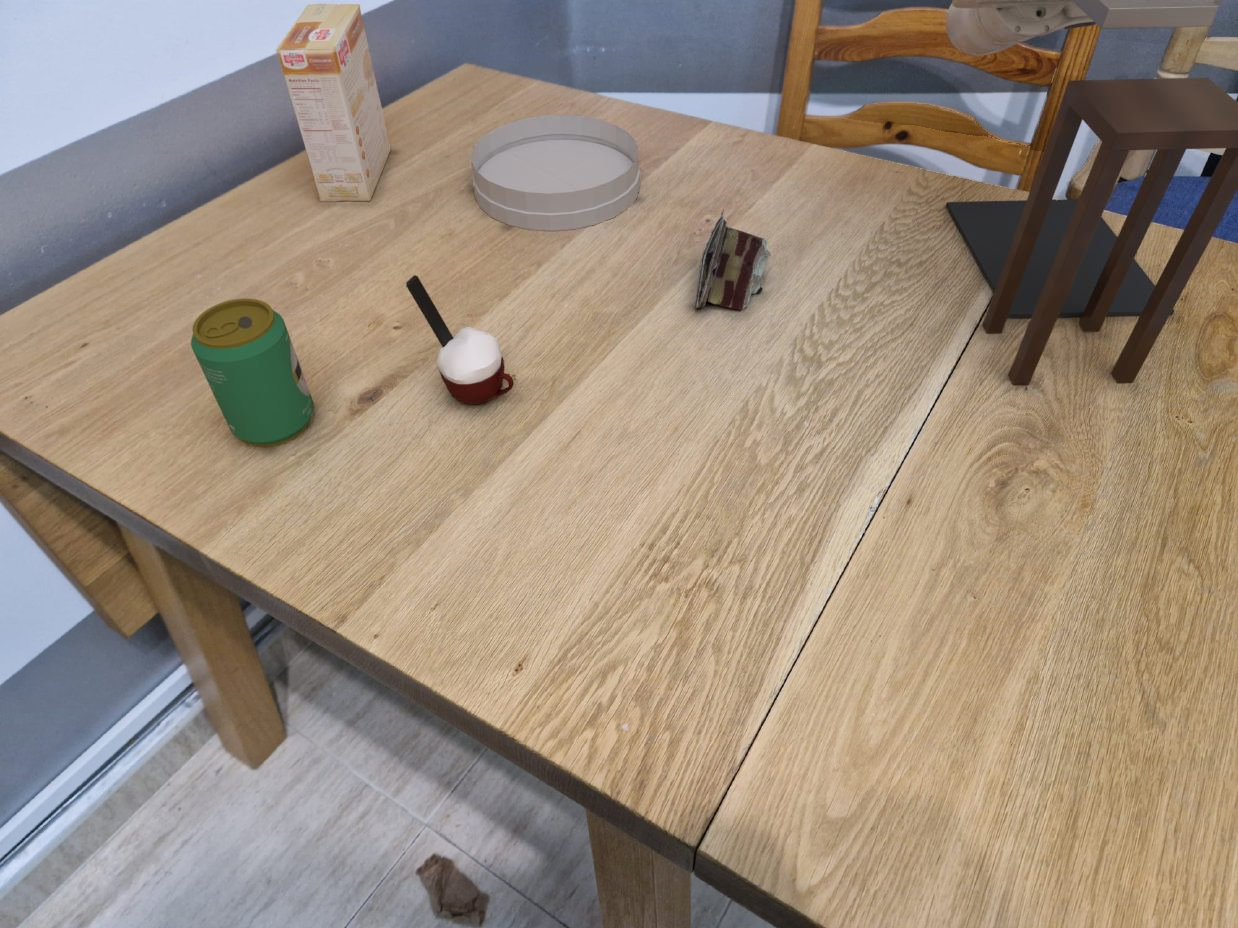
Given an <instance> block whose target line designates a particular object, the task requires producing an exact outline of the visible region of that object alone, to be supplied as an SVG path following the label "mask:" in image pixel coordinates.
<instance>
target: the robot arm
mask: <svg viewBox="0 0 1238 928" xmlns="http://www.w3.org/2000/svg"><path fill="white" fill-rule="evenodd" d="M951 1H952V2H951V3H950V5H949V8H948V10H947V12H946V17H945V31H946V35H947V37H948V40H949V41H950V43H951V44H952V46H953V48H955V49H956V50H957V51H959V52H960V53H962V54H964V55H967V56H971V57H982V56H989V55H992V54H996V53H999V52H1002V51H1005V50H1008V49H1009V48H1011V47H1013V46H1015V45H1017V44H1020V43H1025V42H1026V41H1029V40H1031V39H1034V38H1036V37H1044V36H1046V35H1049V34H1052V33H1054V32H1058V31H1061V30H1071V29H1075V28H1083V27H1092V26H1098V25H1097V24H1096V23H1095V22H1094V21H1093V20H1092V19H1091V18H1090V17H1089V16H1088V15H1086V14H1085V13H1084V12H1083V11H1082V10H1081V9H1080V8H1079V7H1078V6H1077V5H1076V4H1075V3H1073V2H1072V1H1071V0H951Z"/></svg>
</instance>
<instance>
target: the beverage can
mask: <svg viewBox="0 0 1238 928" xmlns="http://www.w3.org/2000/svg"><path fill="white" fill-rule="evenodd" d="M286 325H287V324H286V322H285V320H284V318H283V316H282V315H281V314H280V313H278V312H277V311H275V310H274V309H273V308H272V307H271V306H270V304H268V303H267V302H265V301H263V300H260V299H257V298H236V299H235V298H234V299H230V300H225V301H222V302H220V303H217V304H215V305H213V306H211V307H209V308H207V309H206V310H203V312H202V313H201V314H199V315H198V316H197V317H196V319H195V321H194V322H193V325H192V336H191V341H190V346H191V349H192V351H193V354H194V356H195V358H196V360H197V361H198V364H199V366H200V369H201V371H202V373H203V375H204V377H205V379H206V382H207V383H208V386H209V387H210V390H211V392H212V394H213V397H214V399H215V401H216V402H217V405H218V407H219V409H220V411H221V413H222V415H223V417H224V420H225V422H226V424H227V426H228V428H229V430H230V432H231V433H232V434H233V435H234V436H235V437H237V438H238V439H240V440H241V441H243V443H245V444H247V445H250V446H254V447H260V448H268V447H275V446H276V447H277V446H280V445H283V444H286V443H288V442H290V441H293V440H295V439H296V438H297V437H299V436H300V435H302V434H303V433H304V432H305V431H306V430H307V429H308V427H309V426H310V424H311V422H312V419H313V413H314V409H315V403H314V399H313V397H312V393H311V391H310V390H309V386H308V383H307V381H306V378H305V375H304V372H303V370H302V366H301V364H300V362H299V359H298V356H297V353H296V350H295V347H294V344H293V342H292V339H291V337H290V334H289V331H288V328H287V326H286Z"/></svg>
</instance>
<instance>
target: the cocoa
mask: <svg viewBox="0 0 1238 928" xmlns="http://www.w3.org/2000/svg"><path fill="white" fill-rule="evenodd" d="M405 286H406V288H407V290H408V292H409V293H410V295H411V297H412V298H413V300H414V301H415V303H416V305H417V307H418V308H419V310H420V312H421V313H422V315H423V316H424V318H425V320H426V322H427V323H428V325H429V327H430V328H431V330H432V332H433V334H434V335H435V337H436V339H437V341H438V342H439V344H440V346H441V347H440V349H439V351H438V355H437V360H436V368H437V369H438V371H439V374H440V376H441V380H442V382H443V383H444V385H445V387H446V389H447V390H448V392H449V394H450V395H451V397H452V398H454V399H456V400H458V401H460V402H461V403H463V404H468V405H479V404H483V403H487V402H489V401H490V400H492V399H494V398H495V397H500V396H503V395H505V394H507V393H509V392H510V391H511V390H512V389H513V387H514V386H515V382H514V379H513V377H512V376H511V375H510V374H508V373H506V372H505V361H504V357H503V355H502V351H501V345H500V340H499V339H497V338H496V337H494V336H493V335H492V334H490V333H489V332H488V331H484V330H479V329H476V328H474V327H471V326H470V325H469V326H468V325H467V326H465V327H463V328H461V329H460V330H459V331H458V332H457V333H456V335H455V336H453V334H452V333H451V330H450V329H449V328H448V326H447V324H446V322H445V320H444V319H443V317H442V315H441V313H440V311H439V310H438V309H437V307H436V305H435V304H434V301H433V300H432V298H431V296H430V295H429V293H428V291H427V290H426V288H425V286H424V285H423V283H422V281H421V280H420V277H419V276H418V275H416V274H414V275H413V276H412V277H410V278H409V279H408V280H407V281H406V283H405ZM504 380H505V382H507V384H508V386H507V387H505V388H503V384H504Z"/></svg>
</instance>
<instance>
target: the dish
mask: <svg viewBox="0 0 1238 928" xmlns="http://www.w3.org/2000/svg"><path fill="white" fill-rule="evenodd" d="M639 153H640V152H639V148H638V143H637V141H636V140H635V138H634V137H633V136H632V135H631V134H630V133H629V132H628V131H626V130H625V129H624V128H622V127H620V126H619V125H617V124H614V123H611V122H609V121H606V120H603V119H601V118H595V117H589V116H583V115H575V114H574V115H573V114H551V115H549V114H548V115H539V116H532V117H528V118H527V117H526V118H522V119H518V120H515V121H512V122H509V123H505V124H502V125H501V126H498V127H496V128H495V129H493V130H491V131H489V132H487V133H486V134H485V135H484V136H482V137H481V138H479V140H477V141H476V143H475V145H474V147H473V148H472V150H471V156H470V158H471V159H470V160H471V161H470V163H471V168H472V184H473V192H474V198H475V201H476V202H477V204H478V206H479V209H481V211H483V212H484V213H486V214H487V215H488V216H489V217H491V218H492V219H494V220H496V221H499V222H501V223H503V224H505V225H508V226H512V227H516V228H519V229H520V228H521V229H525V230H531V231H546V232H555V231H556V232H557V231H570V230H578V229H582V228H587V227H590V226H596V225H599V224H601V223H604V222H606V221H609V220H612V219H613V218H615V217H617V216H619V215H620V214H622V213H623V212H625V211H626V210H628V209H629V208H630V207H631V205H632V204H633V203H634V202H635V201H636V200H637V199H638V195H639V191H640V188H641V170H640V166H639V160H640V159H639V156H640V155H639Z"/></svg>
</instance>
